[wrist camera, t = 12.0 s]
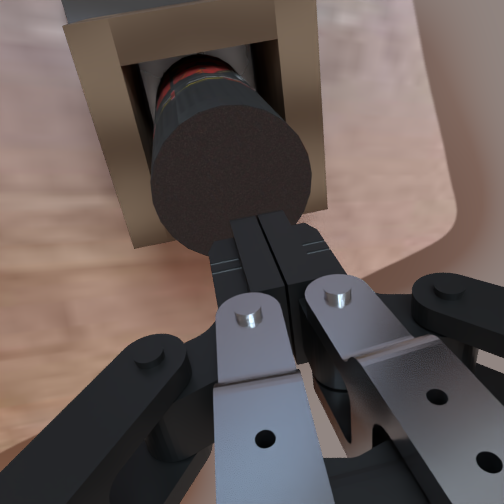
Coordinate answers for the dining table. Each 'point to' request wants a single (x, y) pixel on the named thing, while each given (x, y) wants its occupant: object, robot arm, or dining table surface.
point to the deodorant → (221, 154)
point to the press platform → (155, 69)
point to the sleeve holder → (183, 43)
